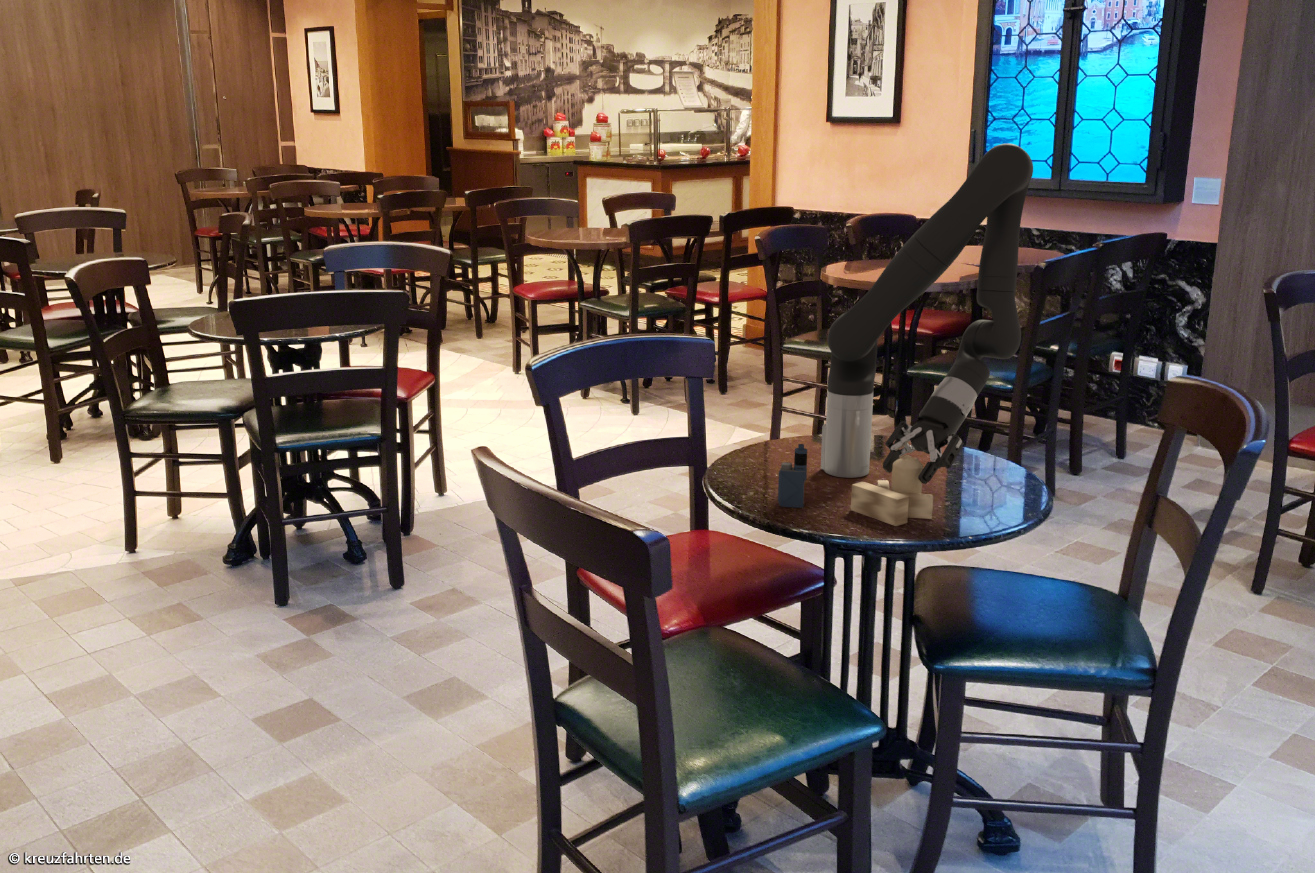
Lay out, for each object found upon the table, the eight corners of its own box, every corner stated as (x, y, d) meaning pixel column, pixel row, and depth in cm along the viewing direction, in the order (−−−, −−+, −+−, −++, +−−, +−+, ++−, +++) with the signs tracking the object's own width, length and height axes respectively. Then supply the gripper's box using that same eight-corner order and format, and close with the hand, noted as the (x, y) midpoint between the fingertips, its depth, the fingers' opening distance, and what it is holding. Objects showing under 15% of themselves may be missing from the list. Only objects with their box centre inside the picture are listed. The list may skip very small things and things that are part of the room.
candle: (887, 503, 207) (890, 452, 204) (916, 503, 207) (920, 453, 204) (892, 512, 202) (896, 460, 199) (922, 513, 201) (926, 461, 199)
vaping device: (805, 508, 204) (807, 446, 201) (777, 506, 205) (778, 445, 202) (806, 504, 206) (808, 443, 203) (778, 502, 207) (780, 441, 204)
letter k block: (846, 508, 204) (847, 482, 203) (881, 498, 210) (882, 473, 208) (901, 528, 194) (902, 501, 192) (937, 517, 199) (938, 491, 198)
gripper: (910, 388, 208) (865, 455, 205) (971, 402, 197) (925, 473, 194) (926, 411, 213) (883, 477, 209) (987, 426, 202) (942, 496, 198)
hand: (903, 475), depth 202 cm, fingers open, 8 cm apart
